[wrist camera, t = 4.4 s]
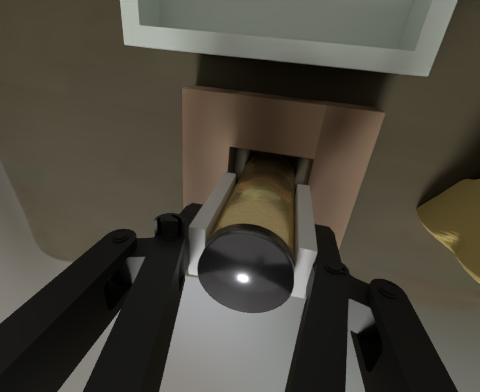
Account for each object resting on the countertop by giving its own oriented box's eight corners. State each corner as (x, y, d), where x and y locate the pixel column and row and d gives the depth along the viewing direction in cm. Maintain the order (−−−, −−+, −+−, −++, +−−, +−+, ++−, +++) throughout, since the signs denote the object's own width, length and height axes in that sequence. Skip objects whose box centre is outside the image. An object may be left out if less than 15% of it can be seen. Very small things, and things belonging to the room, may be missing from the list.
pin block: (373, 106, 17) (385, 112, 15) (327, 252, 22) (331, 272, 20) (195, 85, 18) (182, 87, 16) (193, 226, 24) (183, 243, 22)
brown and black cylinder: (299, 156, 19) (303, 249, 9) (289, 203, 21) (284, 321, 11) (245, 148, 20) (198, 228, 10) (240, 195, 21) (196, 301, 12)
